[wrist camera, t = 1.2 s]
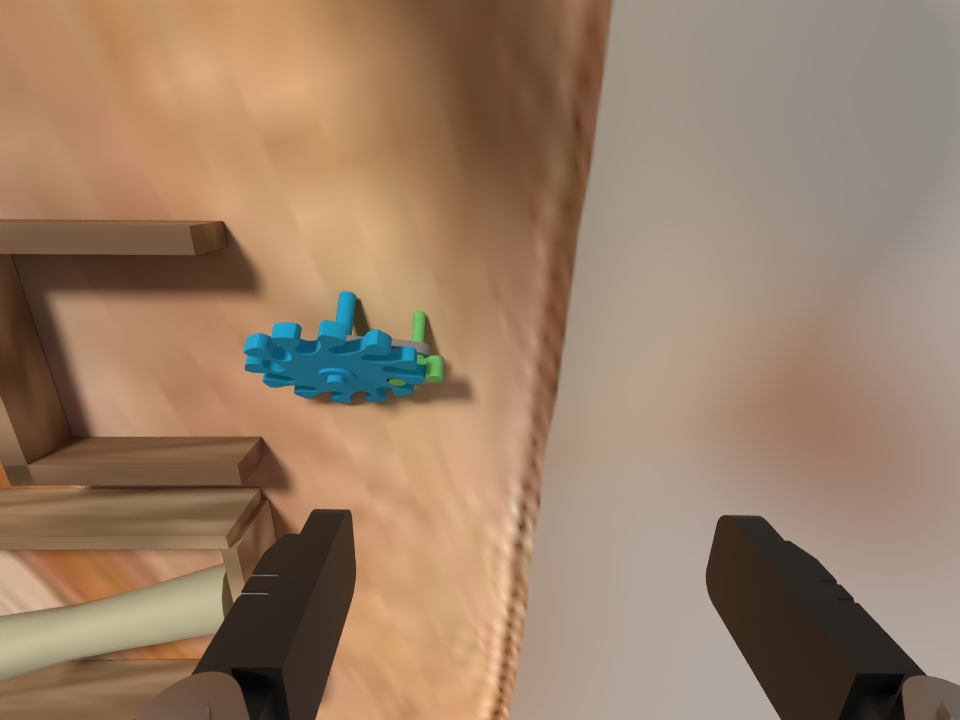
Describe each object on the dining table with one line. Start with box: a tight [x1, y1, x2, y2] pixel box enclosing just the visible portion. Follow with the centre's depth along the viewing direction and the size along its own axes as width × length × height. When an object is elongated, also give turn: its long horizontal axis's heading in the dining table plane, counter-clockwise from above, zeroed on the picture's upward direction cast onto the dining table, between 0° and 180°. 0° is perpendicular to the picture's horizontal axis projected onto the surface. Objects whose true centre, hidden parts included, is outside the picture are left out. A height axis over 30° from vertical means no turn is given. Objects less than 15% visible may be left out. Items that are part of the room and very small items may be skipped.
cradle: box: [0, 219, 264, 486], centre depth 28 cm, size 16×14×4 cm
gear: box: [244, 292, 444, 403], centre depth 28 cm, size 11×6×10 cm
